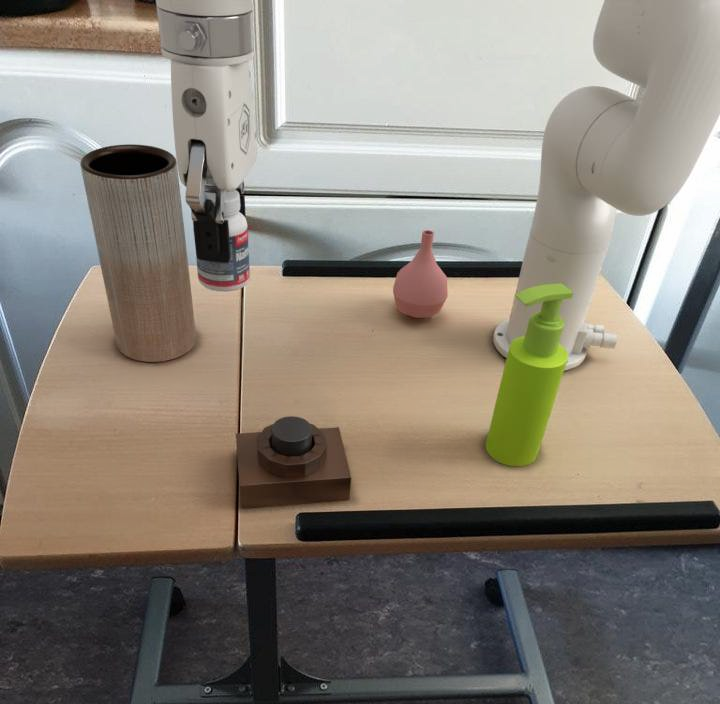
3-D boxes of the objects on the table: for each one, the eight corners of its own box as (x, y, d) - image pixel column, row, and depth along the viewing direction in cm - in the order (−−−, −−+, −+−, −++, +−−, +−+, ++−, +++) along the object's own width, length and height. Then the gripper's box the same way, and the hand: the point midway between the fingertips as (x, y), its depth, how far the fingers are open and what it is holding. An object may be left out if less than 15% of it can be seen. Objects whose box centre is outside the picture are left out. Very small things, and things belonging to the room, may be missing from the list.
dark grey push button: (309, 430, 73) (309, 414, 71) (314, 456, 70) (314, 440, 68) (270, 432, 72) (269, 417, 71) (273, 458, 69) (273, 442, 68)
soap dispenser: (468, 440, 80) (503, 279, 67) (519, 428, 83) (563, 270, 69) (494, 473, 77) (538, 309, 63) (547, 459, 79) (600, 298, 65)
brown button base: (337, 449, 78) (339, 413, 74) (349, 500, 72) (352, 464, 69) (237, 456, 76) (234, 419, 73) (241, 508, 70) (238, 472, 67)
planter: (198, 360, 88) (177, 176, 73) (115, 365, 87) (75, 177, 71) (195, 319, 96) (175, 143, 80) (118, 323, 94) (83, 143, 78)
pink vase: (385, 322, 98) (393, 239, 90) (396, 296, 104) (404, 216, 96) (439, 332, 97) (453, 249, 89) (447, 305, 103) (461, 225, 95)
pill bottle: (246, 295, 70) (241, 207, 64) (193, 291, 70) (184, 202, 64) (253, 270, 74) (249, 185, 68) (203, 266, 74) (195, 180, 68)
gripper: (223, 64, 51) (237, 292, 63) (274, 18, 63) (278, 216, 76) (122, 53, 51) (156, 282, 64) (193, 10, 64) (209, 208, 76)
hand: (222, 244), depth 70 cm, fingers closed on pill bottle, 5 cm apart
